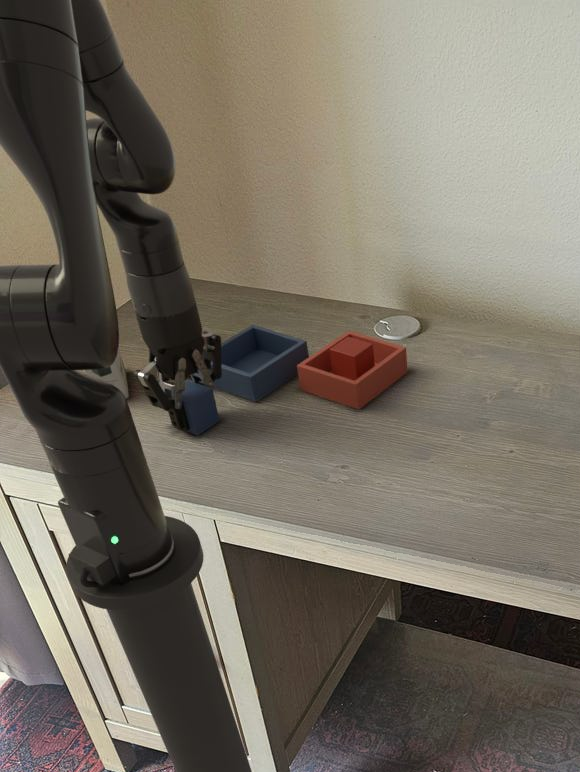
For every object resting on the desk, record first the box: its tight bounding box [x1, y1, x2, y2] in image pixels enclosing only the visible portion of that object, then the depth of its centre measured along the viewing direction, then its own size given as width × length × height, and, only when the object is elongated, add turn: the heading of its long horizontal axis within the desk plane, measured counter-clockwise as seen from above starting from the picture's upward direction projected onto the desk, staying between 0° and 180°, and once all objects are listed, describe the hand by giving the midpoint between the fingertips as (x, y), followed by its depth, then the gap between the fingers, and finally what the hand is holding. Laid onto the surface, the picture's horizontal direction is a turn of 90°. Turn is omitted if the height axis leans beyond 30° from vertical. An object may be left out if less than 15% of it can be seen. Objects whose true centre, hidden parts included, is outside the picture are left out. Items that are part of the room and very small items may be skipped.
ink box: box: [82, 347, 130, 399], centre depth 123 cm, size 9×5×12 cm, turn 18°
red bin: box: [297, 330, 409, 410], centre depth 127 cm, size 13×11×4 cm
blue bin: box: [211, 324, 310, 403], centre depth 129 cm, size 13×11×4 cm
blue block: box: [172, 379, 221, 436], centre depth 119 cm, size 4×4×5 cm
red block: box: [330, 337, 375, 381], centre depth 127 cm, size 4×4×5 cm
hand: (195, 420), depth 120 cm, fingers closed on blue block, 4 cm apart
